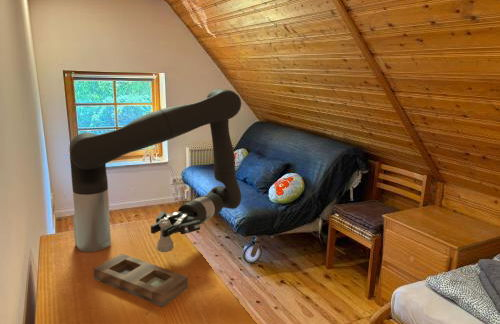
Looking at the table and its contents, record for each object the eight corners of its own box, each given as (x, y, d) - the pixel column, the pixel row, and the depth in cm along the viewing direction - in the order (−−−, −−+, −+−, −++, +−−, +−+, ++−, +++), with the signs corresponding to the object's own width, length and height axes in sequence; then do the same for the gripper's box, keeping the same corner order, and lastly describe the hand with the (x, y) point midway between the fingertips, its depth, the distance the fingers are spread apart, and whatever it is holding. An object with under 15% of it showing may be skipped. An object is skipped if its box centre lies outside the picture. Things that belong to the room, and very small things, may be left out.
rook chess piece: (169, 253, 96) (169, 225, 94) (153, 251, 97) (153, 223, 95) (176, 246, 100) (176, 219, 98) (161, 244, 101) (160, 217, 99)
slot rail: (94, 279, 91) (93, 268, 90) (122, 263, 99) (121, 253, 98) (163, 307, 81) (162, 295, 80) (187, 287, 89) (187, 276, 88)
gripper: (178, 195, 112) (137, 212, 97) (217, 204, 106) (179, 224, 91) (178, 218, 114) (137, 238, 99) (216, 229, 107) (179, 252, 92)
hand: (157, 231), depth 95 cm, fingers closed on rook chess piece, 3 cm apart
